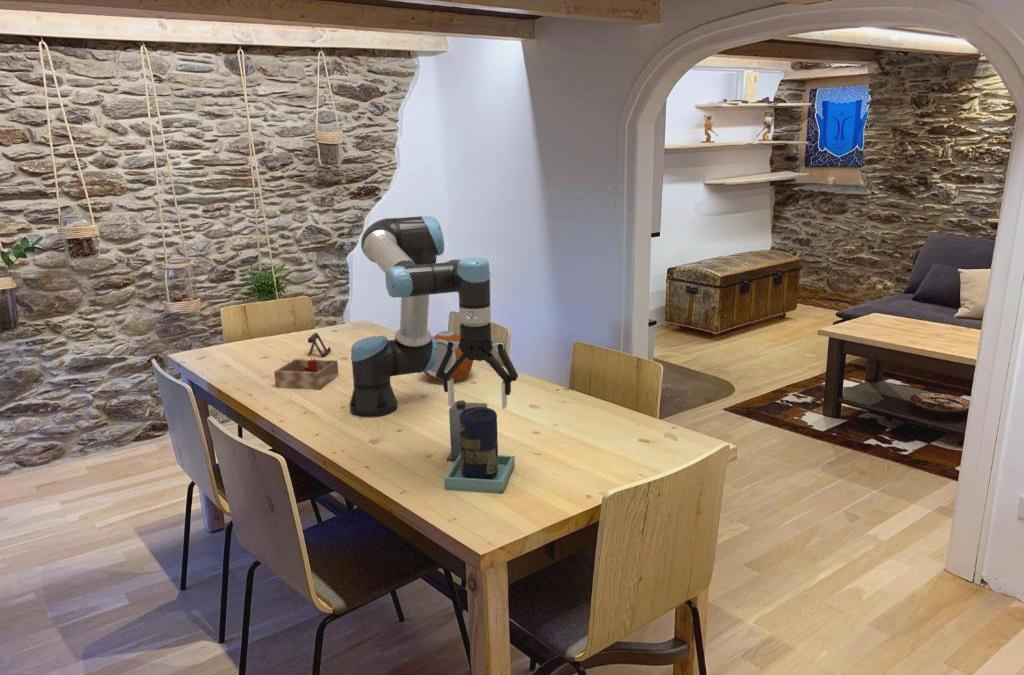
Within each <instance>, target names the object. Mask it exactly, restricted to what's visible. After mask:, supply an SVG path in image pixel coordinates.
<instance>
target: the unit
mask: <svg viewBox="0 0 1024 675" xmlns="http://www.w3.org/2000/svg"><path fill="white" fill-rule="evenodd" d="M473 407H486V408H488V403H485V402H484V403H483V402H482V403H481V402H466V401H465V400H457V401H454V403H453V404H452V406H450V408H449V409H448V415H449V416H448V417H449V419H448V420H449V435H450V437H449V438H450V453H449V455H448V456H447V457H446V461H448V462H455V461H456V459H457V457H458V456H459V454H460V453H461V448H460V423H459V417H460V414H461V412H462V411H464V410H466V409H468V408H473Z"/></svg>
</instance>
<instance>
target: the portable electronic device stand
mask: <svg viewBox="0 0 1024 675" xmlns="http://www.w3.org/2000/svg"><path fill="white" fill-rule="evenodd" d="M317 339H318V341H319V342H320V345H321V346H322V348H323V350H324V352H322V350H321V348H320V347H319V345H318V343H317ZM307 342H308V343H309V344H311V347H310V349H309V352H308V355H307V356H308V357H309V356H310V355H311V354H312V353H313V350H314V348H315V347H316V350H317V351H318V353H319V355H320V357H322V358H326V356H327V355H329V353H330V352H331V351H332V348H331V346H329V347H328V348H326V346H325V344H324V341H323V340H322V338H321V337H320V335H319V333H318V332H314V333H313V334H312V335H311V336H309V337H308V339H307Z"/></svg>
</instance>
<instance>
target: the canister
mask: <svg viewBox="0 0 1024 675" xmlns="http://www.w3.org/2000/svg"><path fill="white" fill-rule="evenodd" d="M459 423H460V448H461V471H462V474H463V475H464V476H465V477H467V478H471V479H489V478H491V477H493V476H495V475H496V474H497V472H498V455H499V448H498V447H499V446H498V445H499V444H498V443H499V442H498V440H499V439H498V415H497V412H496V411H495V410H494V409H492V408H489V407H487V408H486V407H473V408H468V409H466V410H464V411H462V412H461V414H460V417H459Z"/></svg>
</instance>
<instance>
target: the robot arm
mask: <svg viewBox="0 0 1024 675" xmlns="http://www.w3.org/2000/svg"><path fill="white" fill-rule="evenodd" d="M442 230H443V229H442V227H441V225H440V222H439V221H438V219H437V218H435V217H434V216H431V215H430V216H425V215H420V216H410V217H407V216H406V217H393V218H387V217H386V218H382V219H379V220H377V221H374V222H373V223H371V225H369V226H368V227H367V228H366V229H365V230H364V232H363V234H362V236H361V240H360V242H361V244H360V248H361V250H362V252H363V254H364V256H365V257H366V258H367V259H368V260H369V261H370V262H373V263H374V264H376V265H378V267H379V268H380V270H382V272H383V273H384V274H385V287H386V290H387V293H388V295H389V296H390V298H401V299H400V320H399V321H400V322H399V324H400V325H399V327H400V328H399V329H397V330H396V332H395V334H394V339H388V337H387V336H385V335H374V336H373V335H372V336H367V337H364V338H361V339H359V340H357V341H356V342H354V343H353V344H352V345H351V347H350V348H351V350H350V351H351V352H350V353H351V355H350V356H351V357H350V360H351V366H352V367H351V369H352V380H353V390H352V395H351V398H350V403H349V412H350V414H352V415H353V416H355V417H361V418H377V417H382V416H387V415H390V414H392V413H395V412H396V411H397V410H398V400H397V397H396V395H395V392H394V390H393V388H392V386H391V377H395V376H397V377H398V376H403V375H411V374H421V373H423V372H424V373H425V371H429V370H431V369H432V368H433V367H434V365H435V363H436V358H437V351H436V349H437V345H436V341H435V339H434V335H433V336H432V333H431V332H430V330H428V322H429V304H430V295H439V294H440V295H441V294H448V293H458V306H459V307H458V308H459V309H458V310H459V322H460V325H459V336H460V342H455V341H454V340H451V341H450V342H449V343H448V345H447V352H446V354H445V356H444V358H443V361H442V363H441V365H440V367H439V369H438V371H437V373H436V377H438V378H439V377H440V378H442V379H443V380H444V384H443V391H444V392H445V393H447V403H448V404H447V405H448V406H449V407H451V406H452V405H453V404H454V403H455V391H454V390H455V387H454V383H453V378H450V376H451V375H452V374H453V372H454V371H455V370H456V369H457V368H458V367H459V365H460V364H461V363H462V362H463V361H464V360H465V358H467V359H469V360H470V361H473V362H474V361H478V362H482V361H485V362H486V363H487V364H488V365H489V366H490V367H491V368H492V369H493V370H494V371H495V373H496V374H497V375H498V377H499V378H501V379H502V382H501V409H502V410H505V409H506V408H507V406H508V396H509V395H510V394H511V392H512V382H516V381H517V379H518V377H519V375H518V372H517V370H516V368H515V367H514V365H513V362H512V361H511V358H510V357H509V355H508V352H507V351H506V347H505V346H506V345H505V342H504V341H500V342H498V343H497V342H495V343H493V341H492V324H491V323H490V322H491V320H492V316H491V312H492V311H491V271H490V262H489V261H488V259H486V258H483V257H482V258H481V257H464V258H461V259H455V258H452V259H449V260H447V261H446V262H437V257H438V256H441V255H443V254H444V253H445V239H444V234H443V231H442ZM457 347H459V349H460V350H461V351H462V353H463V354H462V355H461V357H460V358H459V359H458V360H457V361H456V362H455V364H454V365H453V366H452V367H451V368H450V370H449V371H448V372H447V373H445V372H444V370H445V368H446V366H447V364H448V362H449V360H450V358H451V356H452V353H453V351H455V350H456V349H457ZM493 349H494V351H495V352H496V353H498V356H499V358H500V360H501V362H502V363H503V365H504V367H505V368H504V367H503V366H502V364H500V363H499V362H498V360H497V359H496V358H495V356H494V354H493V353H492V350H493Z"/></svg>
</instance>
